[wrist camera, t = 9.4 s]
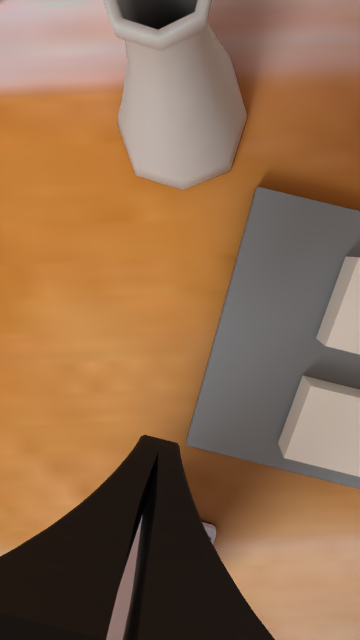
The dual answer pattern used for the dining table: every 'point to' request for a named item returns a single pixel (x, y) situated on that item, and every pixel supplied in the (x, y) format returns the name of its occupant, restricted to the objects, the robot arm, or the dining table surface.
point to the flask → (176, 92)
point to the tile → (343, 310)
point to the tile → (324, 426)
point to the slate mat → (276, 330)
